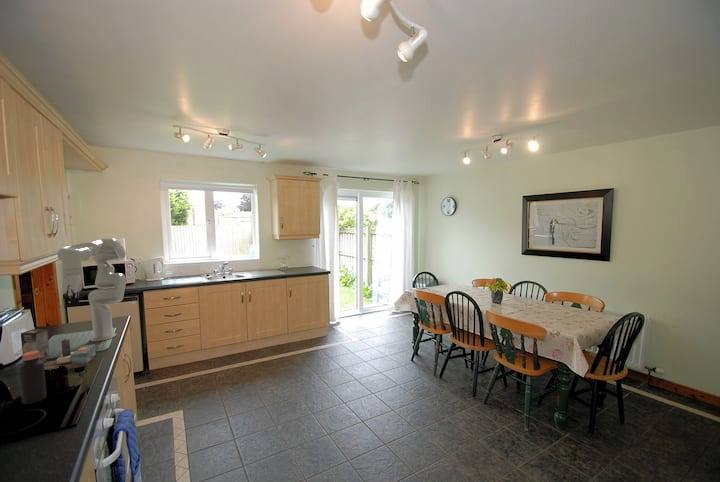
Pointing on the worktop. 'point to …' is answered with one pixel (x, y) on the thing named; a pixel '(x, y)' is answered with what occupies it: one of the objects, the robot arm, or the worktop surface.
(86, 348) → the button
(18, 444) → the worktop surface
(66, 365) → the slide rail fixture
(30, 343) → the coffee box
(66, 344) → the cream plate with knob
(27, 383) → the bottle
